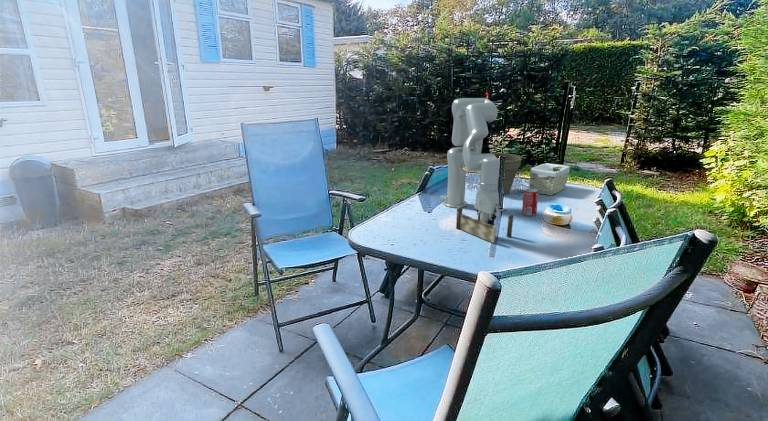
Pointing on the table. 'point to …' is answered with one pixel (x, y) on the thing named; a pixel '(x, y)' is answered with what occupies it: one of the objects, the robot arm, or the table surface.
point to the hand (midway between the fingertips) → (485, 225)
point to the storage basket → (549, 178)
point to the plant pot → (509, 169)
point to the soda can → (530, 202)
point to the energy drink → (484, 217)
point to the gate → (478, 228)
